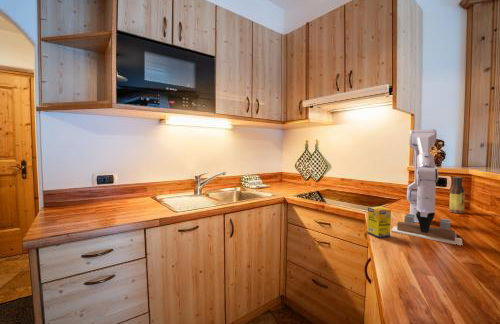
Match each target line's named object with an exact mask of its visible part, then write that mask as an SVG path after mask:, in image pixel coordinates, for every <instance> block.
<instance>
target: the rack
mask: <svg viewBox="0 0 500 324" xmlns="http://www.w3.org/2000/svg"><path fill="white" fill-rule="evenodd" d="M414 219H415V215H413V214H410V213H406V214H405V215H404V221H403V222H405V223H411V224H415V222H414ZM439 228H441V229H447V230H451V219H448V218H447V219H446V218H440V222H439ZM455 238H458V237H457V232H456V231H455Z"/></svg>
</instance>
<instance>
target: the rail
mask: <svg viewBox="0 0 500 324" xmlns="http://www.w3.org/2000/svg"><path fill="white" fill-rule="evenodd" d="M396 227H397V230H400V231H405V232H410V233H415V234H421V235H426V236H431V237H436V238H442V239H447V240H452V241H455V232H456V230H452V229H450V230H447V229H441V228H440V227H434V226H430V227H429V231H428V233H423V232H421V230H420V225H419V224H418V223H417V224H416V223H414V224H411V223H405V222H404V221H398V222H397V226H396Z"/></svg>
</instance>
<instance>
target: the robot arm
mask: <svg viewBox="0 0 500 324" xmlns="http://www.w3.org/2000/svg"><path fill="white" fill-rule="evenodd" d="M437 135H438V134H437V130H436V129H435V128H433V129H432V128H431V129H428V128H427V129H411V130H409V135H408V136H409V137H408V141H409V143H408V145H409V148H412V149H413V150H414V177H413V178H414V181H413V182H411V183H410V184H408V185H407V189H406V201H408V202H409V214H413V215H415V219H414V223H415V224H416V223H417V224H418V225H420V230H421V232H423V233H428V231H429V227H431V224H432V221H433V220H434V218H435V215H436V188H437V187H436V186H437V184H436V183H437V182H438V180H439V170H438V167H437V165H436V164H435V157H434V154H432V153H431V148H433V147H434V145H435V143H436V142H437Z"/></svg>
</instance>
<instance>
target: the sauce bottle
mask: <svg viewBox="0 0 500 324" xmlns="http://www.w3.org/2000/svg"><path fill="white" fill-rule="evenodd" d="M465 193H466V191H465V189H464V186H463V177H461V176H453V177H452V185H451V186H450V188H449V202H448V203H449V205H448V207H449V212H450V213H452V214H461V215H462V214H464V213H465V202H466V201H465V200H466V199H465V198H466V197H465V195H466V194H465Z"/></svg>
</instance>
